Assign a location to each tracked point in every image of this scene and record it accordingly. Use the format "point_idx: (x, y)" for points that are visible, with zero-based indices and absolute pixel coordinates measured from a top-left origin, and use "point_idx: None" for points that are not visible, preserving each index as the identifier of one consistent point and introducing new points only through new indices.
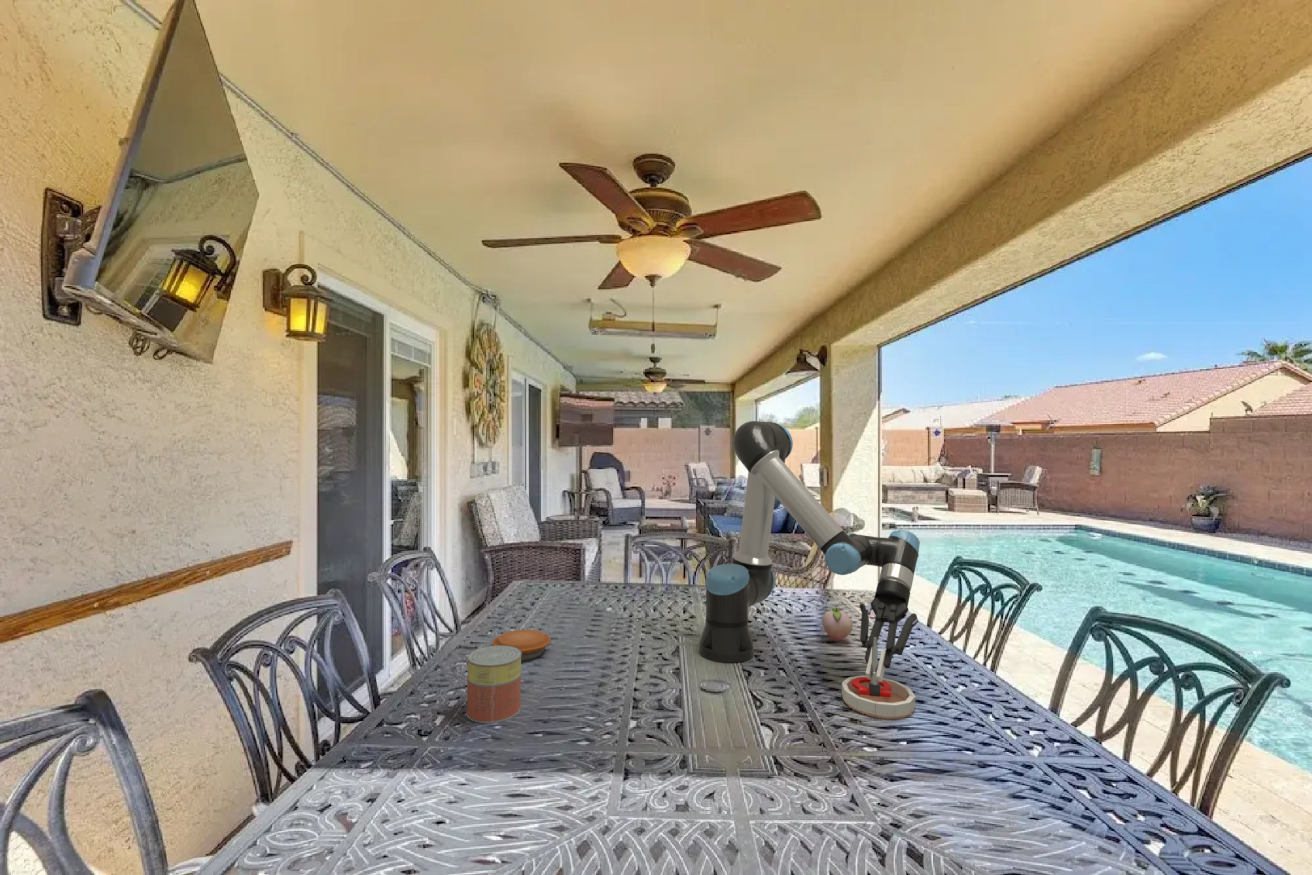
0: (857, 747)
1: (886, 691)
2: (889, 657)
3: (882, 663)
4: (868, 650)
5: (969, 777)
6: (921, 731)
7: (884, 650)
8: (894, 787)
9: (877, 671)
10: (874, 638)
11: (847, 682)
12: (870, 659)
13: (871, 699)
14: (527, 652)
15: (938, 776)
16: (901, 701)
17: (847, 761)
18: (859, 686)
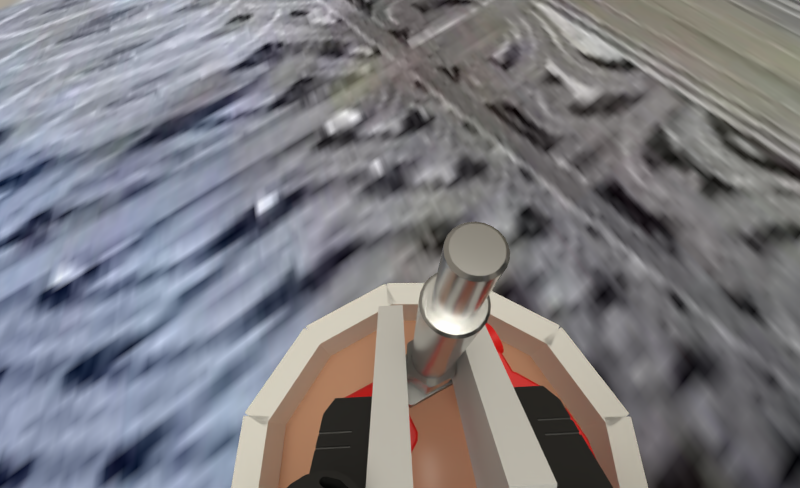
0: (372, 108)
1: (361, 396)
2: (321, 463)
3: (374, 365)
4: (574, 468)
5: (89, 148)
6: (214, 317)
7: (377, 480)
8: (257, 31)
9: (400, 321)
10: (469, 228)
11: (613, 447)
12: (487, 365)
13: (460, 458)
14: None
15: (167, 110)
16: (284, 394)
17: (371, 50)
18: (513, 381)
